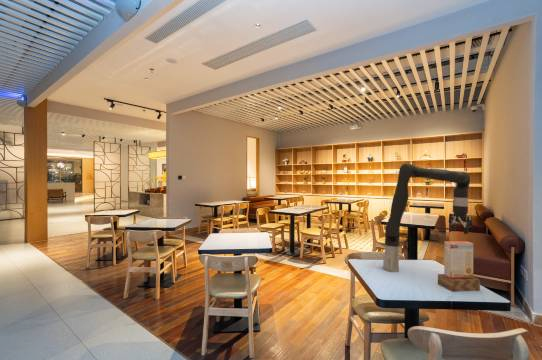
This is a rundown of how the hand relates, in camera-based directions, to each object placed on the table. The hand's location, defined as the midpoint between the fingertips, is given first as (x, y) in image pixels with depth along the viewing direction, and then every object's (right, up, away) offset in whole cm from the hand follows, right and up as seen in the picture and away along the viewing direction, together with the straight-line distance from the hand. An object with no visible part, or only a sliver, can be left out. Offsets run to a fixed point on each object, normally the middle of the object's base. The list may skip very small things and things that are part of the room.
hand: (459, 232), depth 161 cm
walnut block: (-1, -33, 0) cm, 33 cm away
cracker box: (-1, -27, 0) cm, 27 cm away
